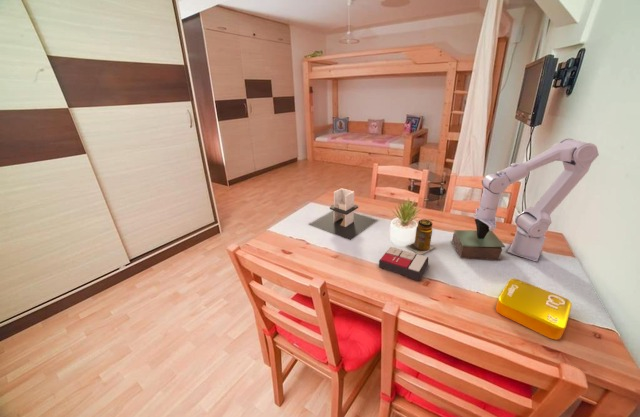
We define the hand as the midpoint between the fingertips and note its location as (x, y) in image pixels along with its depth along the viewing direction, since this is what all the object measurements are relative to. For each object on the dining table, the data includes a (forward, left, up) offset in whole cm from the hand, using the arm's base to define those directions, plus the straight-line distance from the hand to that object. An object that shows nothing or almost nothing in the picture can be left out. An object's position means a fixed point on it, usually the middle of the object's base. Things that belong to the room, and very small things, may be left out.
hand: (480, 237), depth 103 cm
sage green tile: (+1, 0, -1) cm, 1 cm away
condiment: (+18, +13, -6) cm, 23 cm away
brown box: (+1, +1, -6) cm, 6 cm away
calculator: (+17, +29, -6) cm, 34 cm away
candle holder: (+57, +16, -6) cm, 59 cm away
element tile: (-21, +24, -6) cm, 32 cm away
